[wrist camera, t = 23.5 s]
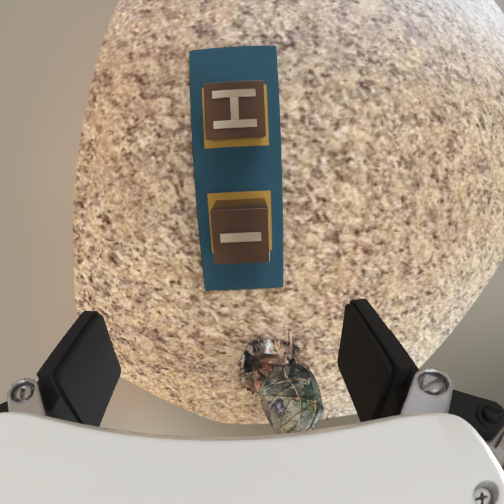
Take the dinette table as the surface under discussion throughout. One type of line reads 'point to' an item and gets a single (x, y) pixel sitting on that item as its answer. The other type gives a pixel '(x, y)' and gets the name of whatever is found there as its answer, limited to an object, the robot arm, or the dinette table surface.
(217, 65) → the word mat
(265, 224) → the tile
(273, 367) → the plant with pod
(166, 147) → the dinette table surface
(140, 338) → the dinette table surface
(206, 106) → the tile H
